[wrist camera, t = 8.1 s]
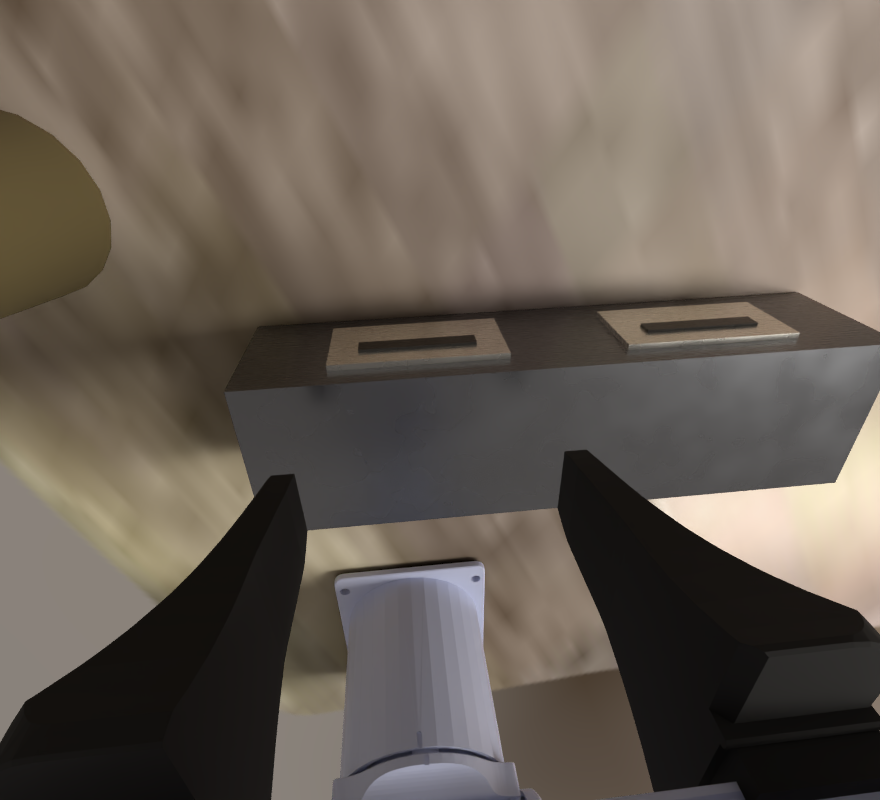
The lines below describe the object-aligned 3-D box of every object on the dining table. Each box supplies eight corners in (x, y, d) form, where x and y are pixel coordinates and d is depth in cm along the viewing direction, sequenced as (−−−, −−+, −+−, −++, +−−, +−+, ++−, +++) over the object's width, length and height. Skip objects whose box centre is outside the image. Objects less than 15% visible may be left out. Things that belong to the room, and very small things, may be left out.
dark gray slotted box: (755, 413, 24) (834, 482, 20) (286, 451, 23) (264, 534, 19) (800, 285, 21) (906, 334, 17) (256, 319, 20) (221, 383, 15)
